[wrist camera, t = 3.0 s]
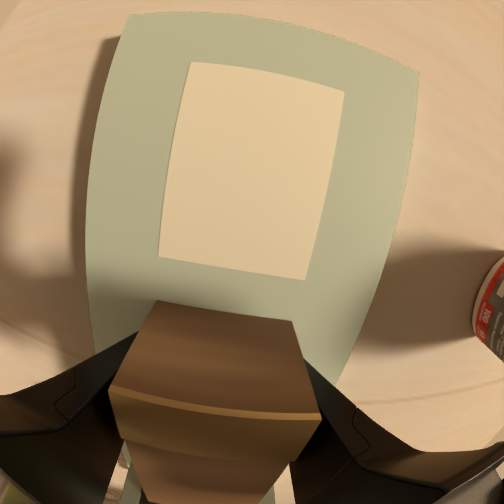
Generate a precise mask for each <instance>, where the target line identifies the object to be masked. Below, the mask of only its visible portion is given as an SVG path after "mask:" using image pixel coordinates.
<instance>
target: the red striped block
mask: <svg viewBox="0 0 504 504" xmlns="http://www.w3.org/2000/svg"><path fill="white" fill-rule="evenodd" d="M103 504H119V503H118V502H113V501H109V500H105V499H104V502H103Z"/></svg>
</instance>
